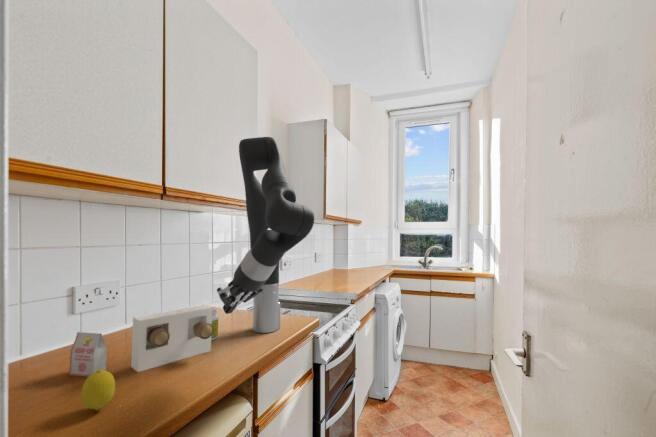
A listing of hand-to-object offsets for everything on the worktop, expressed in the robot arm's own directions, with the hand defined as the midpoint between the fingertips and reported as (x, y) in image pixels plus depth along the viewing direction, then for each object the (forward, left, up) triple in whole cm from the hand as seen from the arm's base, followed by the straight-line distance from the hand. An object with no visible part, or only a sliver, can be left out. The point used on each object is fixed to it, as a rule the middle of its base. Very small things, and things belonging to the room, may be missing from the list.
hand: (227, 310), depth 83 cm
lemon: (+27, -3, -16) cm, 31 cm away
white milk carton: (+24, -25, -16) cm, 38 cm away
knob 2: (0, -13, -10) cm, 16 cm away
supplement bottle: (-10, -27, -16) cm, 32 cm away
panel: (+6, -18, -15) cm, 24 cm away
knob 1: (+11, -16, -10) cm, 22 cm away
